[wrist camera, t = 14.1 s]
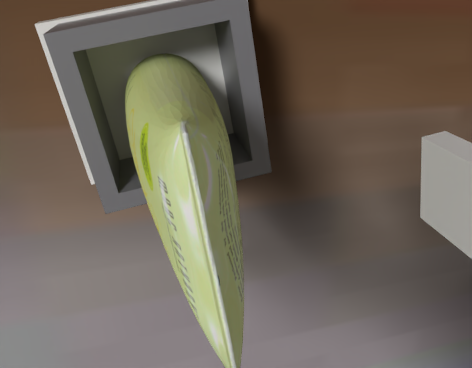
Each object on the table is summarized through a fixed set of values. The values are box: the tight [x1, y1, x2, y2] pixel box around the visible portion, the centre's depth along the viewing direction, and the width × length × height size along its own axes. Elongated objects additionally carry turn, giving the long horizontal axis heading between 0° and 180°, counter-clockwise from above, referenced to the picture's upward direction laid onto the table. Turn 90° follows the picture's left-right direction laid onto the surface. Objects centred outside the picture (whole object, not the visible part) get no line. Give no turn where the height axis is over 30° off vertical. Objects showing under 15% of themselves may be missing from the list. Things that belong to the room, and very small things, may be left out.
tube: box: [125, 53, 244, 368], centre depth 19 cm, size 6×5×20 cm
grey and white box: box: [35, 0, 272, 214], centre depth 26 cm, size 12×10×6 cm
